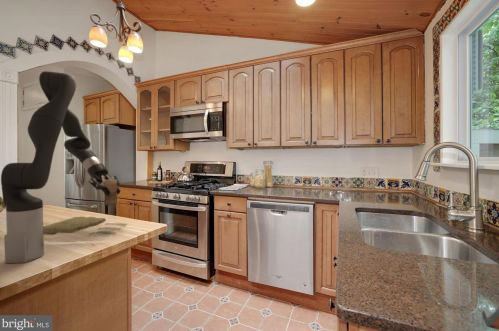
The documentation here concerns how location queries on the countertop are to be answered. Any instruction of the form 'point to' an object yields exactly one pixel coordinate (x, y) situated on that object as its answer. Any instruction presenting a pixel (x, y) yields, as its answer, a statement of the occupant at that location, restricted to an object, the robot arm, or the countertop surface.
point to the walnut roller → (112, 187)
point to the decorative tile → (72, 225)
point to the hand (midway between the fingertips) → (114, 193)
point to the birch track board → (108, 229)
